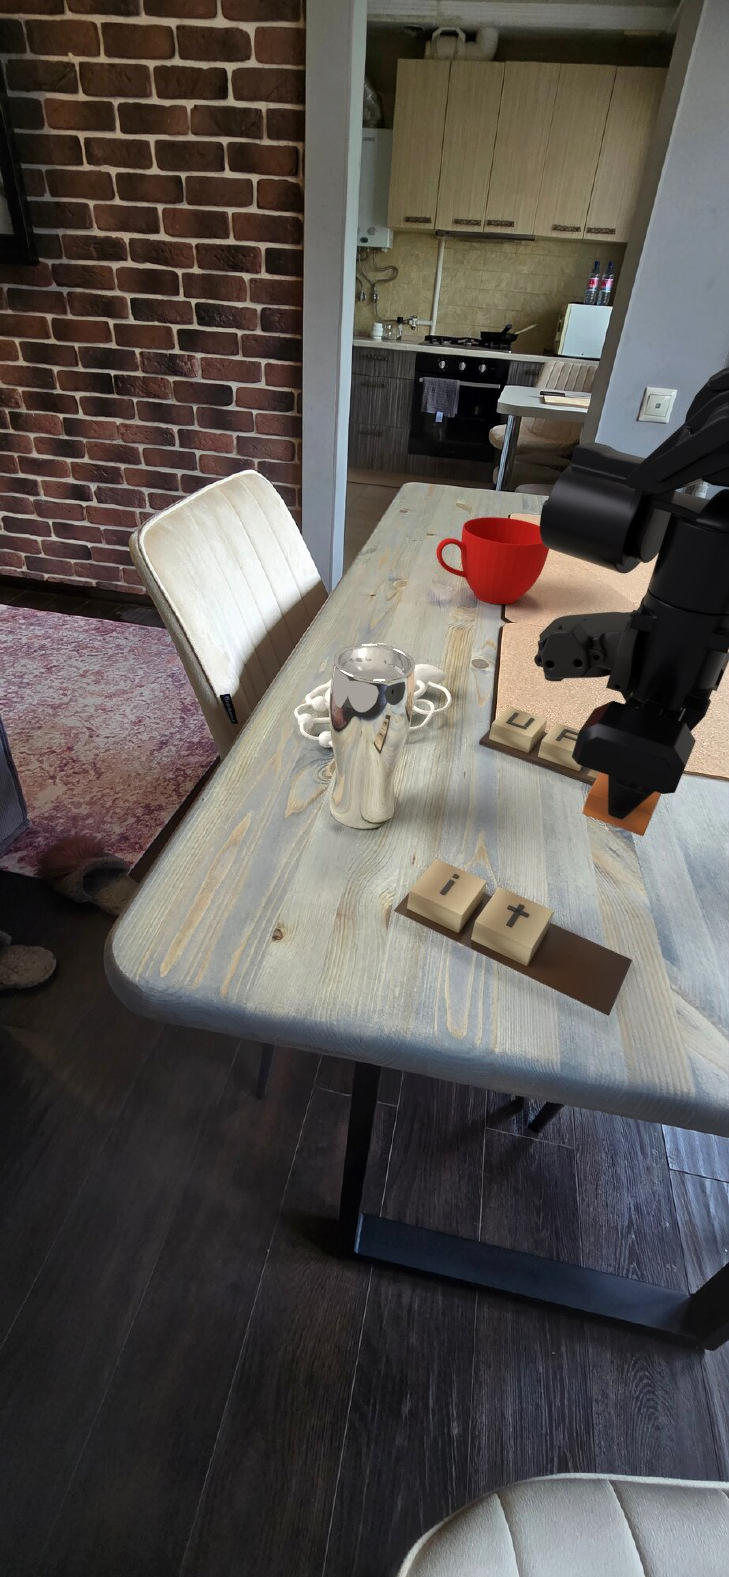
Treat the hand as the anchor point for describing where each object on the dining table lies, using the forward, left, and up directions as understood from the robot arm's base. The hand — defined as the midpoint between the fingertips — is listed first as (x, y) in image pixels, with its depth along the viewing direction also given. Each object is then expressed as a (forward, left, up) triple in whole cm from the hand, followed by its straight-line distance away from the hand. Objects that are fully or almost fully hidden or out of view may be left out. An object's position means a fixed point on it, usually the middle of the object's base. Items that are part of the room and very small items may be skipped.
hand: (623, 799), depth 54 cm
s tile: (0, 0, -1) cm, 1 cm away
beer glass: (+21, +1, -10) cm, 24 cm away
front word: (+4, +8, -10) cm, 13 cm away
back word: (+9, -19, -10) cm, 23 cm away
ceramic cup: (+34, -55, -10) cm, 66 cm away
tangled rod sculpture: (+29, -15, -10) cm, 34 cm away
